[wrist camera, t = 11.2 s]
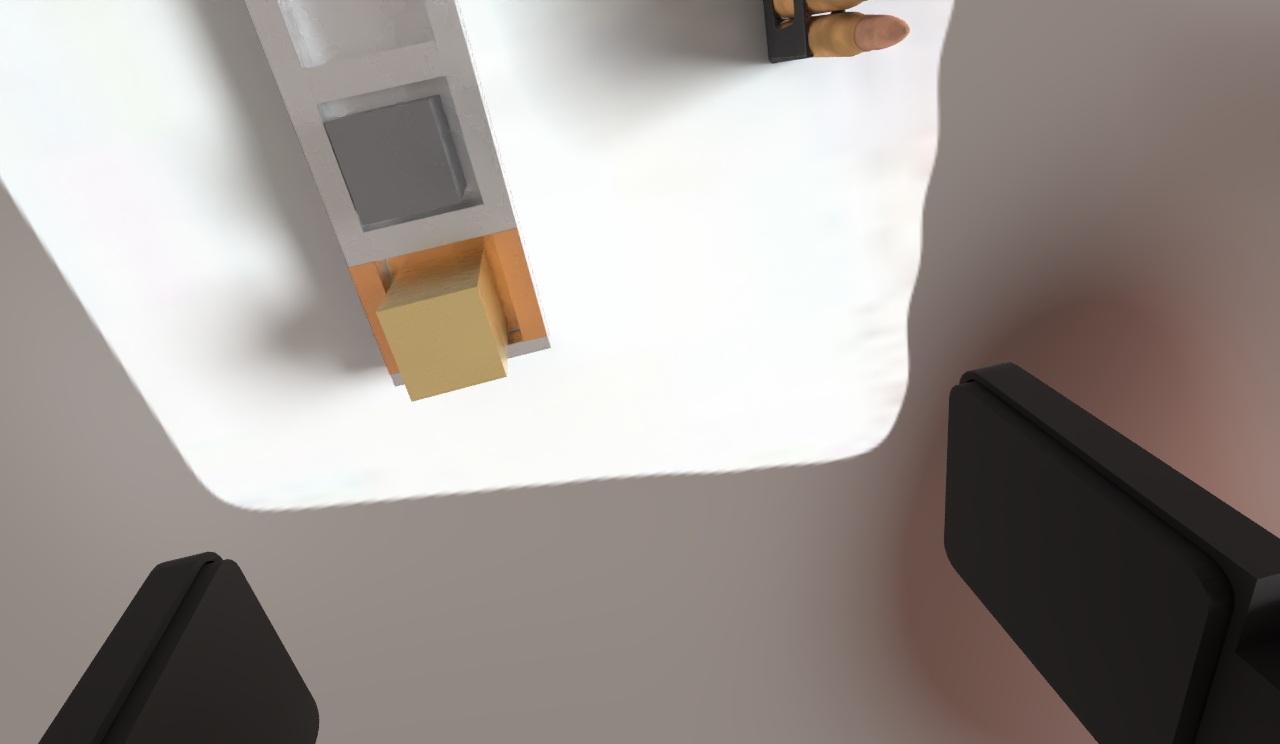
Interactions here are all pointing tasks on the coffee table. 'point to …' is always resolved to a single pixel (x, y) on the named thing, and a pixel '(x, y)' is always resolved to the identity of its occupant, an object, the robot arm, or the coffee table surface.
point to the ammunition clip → (826, 29)
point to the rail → (385, 75)
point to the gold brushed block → (446, 324)
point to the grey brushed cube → (398, 159)
